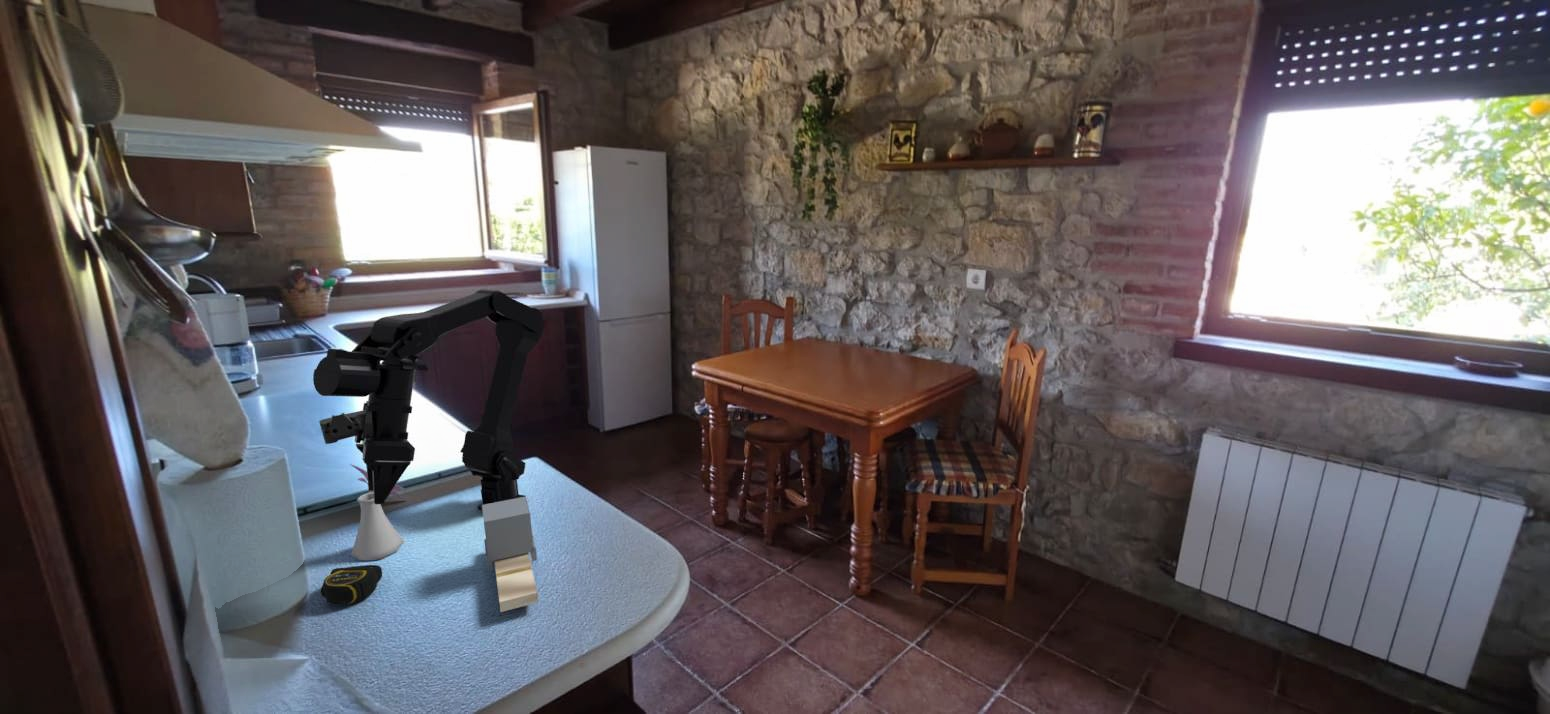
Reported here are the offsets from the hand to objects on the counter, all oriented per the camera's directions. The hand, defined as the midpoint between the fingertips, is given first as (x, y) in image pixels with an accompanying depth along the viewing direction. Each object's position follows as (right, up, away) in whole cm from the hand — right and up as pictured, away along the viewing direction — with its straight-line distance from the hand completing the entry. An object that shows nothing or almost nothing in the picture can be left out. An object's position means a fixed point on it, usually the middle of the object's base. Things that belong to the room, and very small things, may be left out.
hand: (375, 497), depth 99 cm
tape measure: (-2, -14, -3) cm, 15 cm away
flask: (-5, -11, +9) cm, 15 cm away
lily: (-14, -7, +24) cm, 28 cm away
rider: (+20, -10, +4) cm, 22 cm away
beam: (+21, -13, +1) cm, 25 cm away
